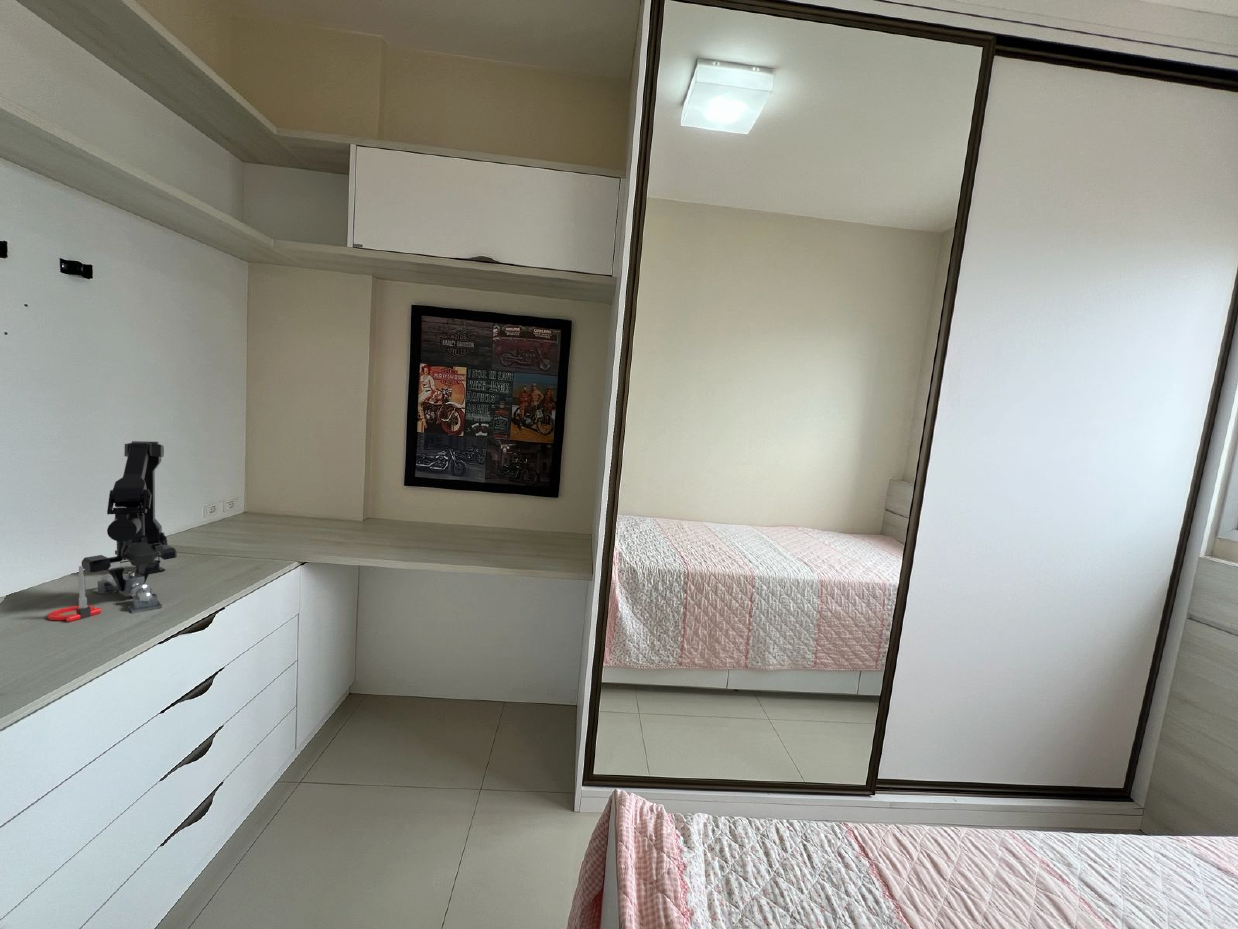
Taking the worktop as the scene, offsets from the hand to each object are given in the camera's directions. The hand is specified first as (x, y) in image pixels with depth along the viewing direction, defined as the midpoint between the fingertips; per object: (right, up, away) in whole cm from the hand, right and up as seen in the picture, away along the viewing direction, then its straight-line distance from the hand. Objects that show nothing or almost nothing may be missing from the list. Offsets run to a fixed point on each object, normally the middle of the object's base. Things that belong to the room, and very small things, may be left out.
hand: (131, 588), depth 154 cm
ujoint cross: (0, -1, 0) cm, 1 cm away
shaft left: (-8, -2, +4) cm, 8 cm away
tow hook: (-4, -4, -13) cm, 14 cm away
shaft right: (+7, -3, -4) cm, 9 cm away
